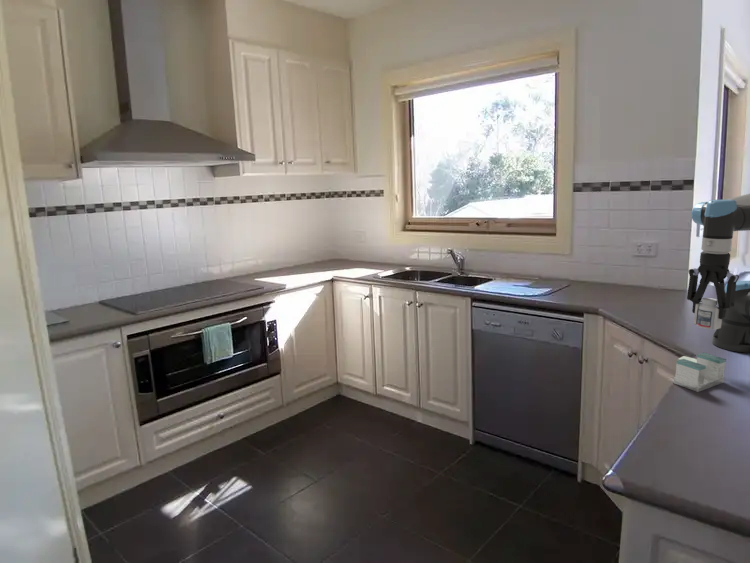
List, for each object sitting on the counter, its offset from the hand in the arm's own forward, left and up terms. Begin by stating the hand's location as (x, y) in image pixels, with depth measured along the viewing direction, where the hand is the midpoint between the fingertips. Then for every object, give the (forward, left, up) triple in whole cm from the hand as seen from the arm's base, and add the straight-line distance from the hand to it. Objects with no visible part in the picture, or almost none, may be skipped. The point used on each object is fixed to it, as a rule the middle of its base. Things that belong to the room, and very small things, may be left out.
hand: (706, 325), depth 161 cm
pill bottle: (0, 0, -1) cm, 1 cm away
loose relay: (+7, 0, -14) cm, 15 cm away
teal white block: (+13, +7, -13) cm, 20 cm away
